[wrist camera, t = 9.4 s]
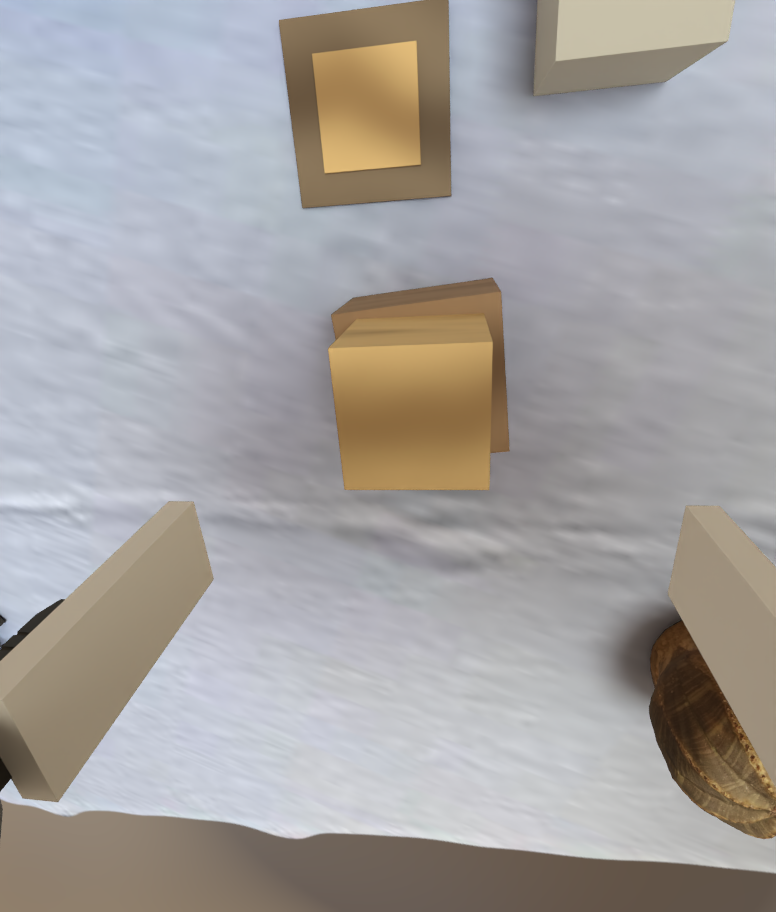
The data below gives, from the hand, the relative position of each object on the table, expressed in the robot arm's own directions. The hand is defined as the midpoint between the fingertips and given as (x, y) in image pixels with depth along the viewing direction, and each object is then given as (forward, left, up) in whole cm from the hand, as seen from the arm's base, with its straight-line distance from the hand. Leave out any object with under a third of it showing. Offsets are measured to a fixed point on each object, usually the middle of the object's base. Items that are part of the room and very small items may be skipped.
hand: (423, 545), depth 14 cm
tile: (+13, +3, -19) cm, 23 cm away
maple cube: (+1, +1, -13) cm, 13 cm away
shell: (-22, -19, -19) cm, 34 cm away
